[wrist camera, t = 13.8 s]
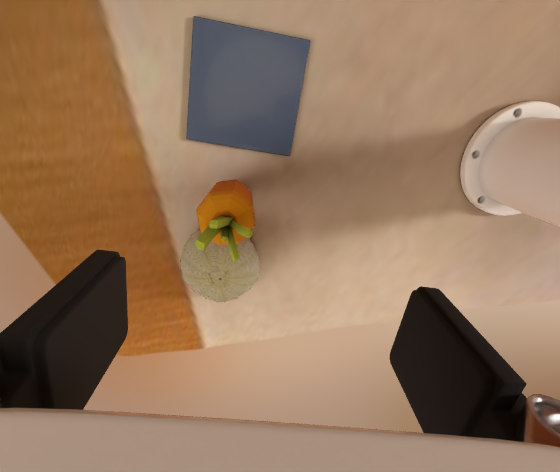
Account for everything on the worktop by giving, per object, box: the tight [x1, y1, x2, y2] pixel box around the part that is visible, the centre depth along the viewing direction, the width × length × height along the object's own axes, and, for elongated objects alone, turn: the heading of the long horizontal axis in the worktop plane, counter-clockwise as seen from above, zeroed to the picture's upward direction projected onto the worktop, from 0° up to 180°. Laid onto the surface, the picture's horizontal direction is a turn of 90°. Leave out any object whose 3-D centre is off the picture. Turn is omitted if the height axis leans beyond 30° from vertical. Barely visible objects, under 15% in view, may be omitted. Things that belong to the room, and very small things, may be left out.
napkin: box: [187, 16, 310, 156], centre depth 32 cm, size 11×11×1 cm
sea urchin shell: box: [180, 230, 260, 302], centre depth 37 cm, size 9×8×8 cm
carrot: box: [195, 180, 255, 262], centre depth 29 cm, size 5×5×15 cm
